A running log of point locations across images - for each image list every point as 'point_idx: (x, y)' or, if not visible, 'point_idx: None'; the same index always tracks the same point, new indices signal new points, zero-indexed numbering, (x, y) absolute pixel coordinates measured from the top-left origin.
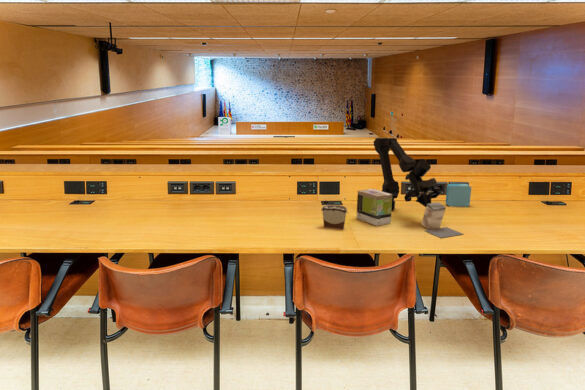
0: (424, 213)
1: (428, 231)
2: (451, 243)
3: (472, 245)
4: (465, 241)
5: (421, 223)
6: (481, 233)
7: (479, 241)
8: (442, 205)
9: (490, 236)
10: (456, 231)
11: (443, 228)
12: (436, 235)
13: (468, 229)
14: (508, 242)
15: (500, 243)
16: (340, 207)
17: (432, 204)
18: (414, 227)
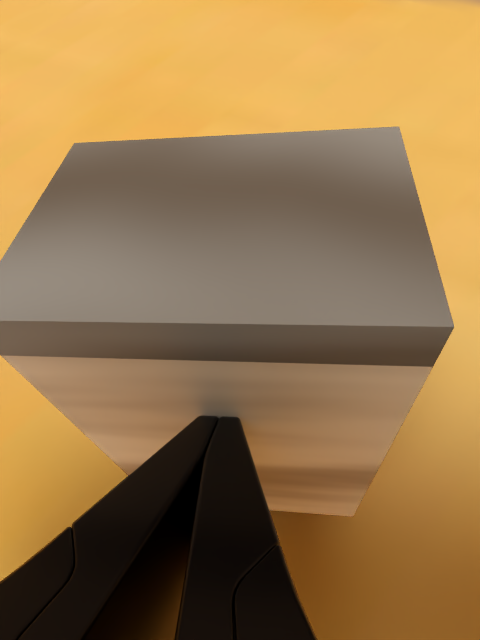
0: (381, 454)
1: None
2: (393, 65)
3: (284, 15)
4: (265, 69)
5: (354, 512)
6: (19, 147)
7: (180, 49)
8: (55, 197)
9: (32, 92)
10: None
11: None
12: None
13: (5, 242)
14: (51, 6)
15: (104, 5)
16: None
17: (275, 267)
18: (452, 530)
